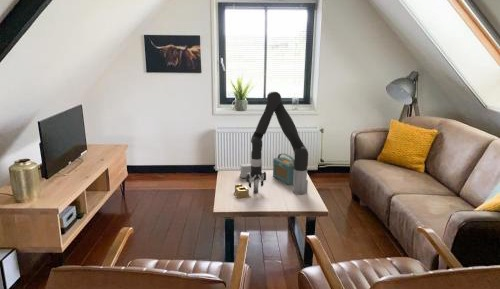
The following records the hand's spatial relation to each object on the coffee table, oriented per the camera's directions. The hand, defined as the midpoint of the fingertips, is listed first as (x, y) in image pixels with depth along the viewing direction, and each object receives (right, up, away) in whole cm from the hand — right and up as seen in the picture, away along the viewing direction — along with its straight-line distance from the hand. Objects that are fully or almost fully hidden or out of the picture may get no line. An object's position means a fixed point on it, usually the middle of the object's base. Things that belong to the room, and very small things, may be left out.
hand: (256, 186), depth 258 cm
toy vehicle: (-3, +4, +35) cm, 36 cm away
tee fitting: (-10, -5, -3) cm, 12 cm away
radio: (+24, +2, +28) cm, 37 cm away
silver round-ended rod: (0, -4, +1) cm, 4 cm away
